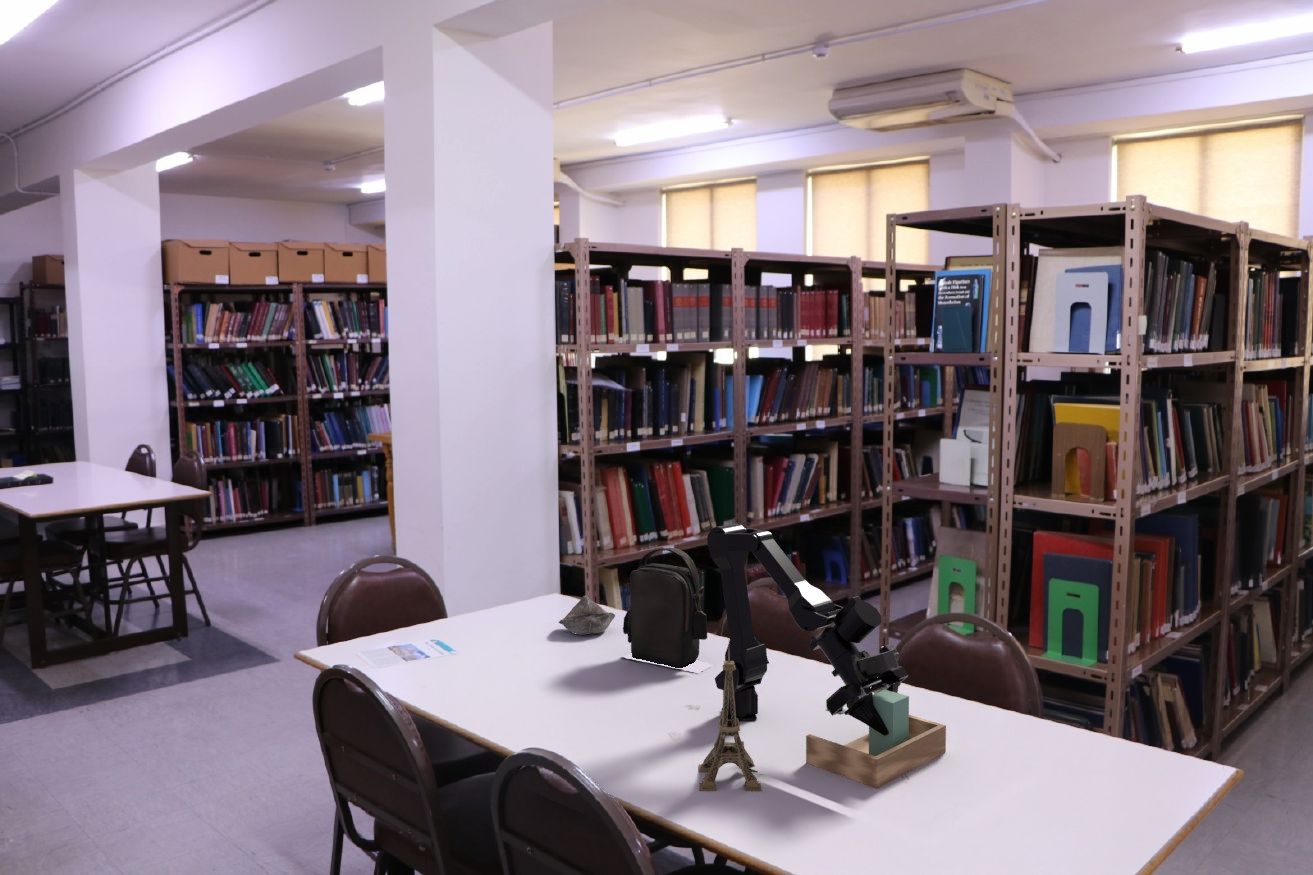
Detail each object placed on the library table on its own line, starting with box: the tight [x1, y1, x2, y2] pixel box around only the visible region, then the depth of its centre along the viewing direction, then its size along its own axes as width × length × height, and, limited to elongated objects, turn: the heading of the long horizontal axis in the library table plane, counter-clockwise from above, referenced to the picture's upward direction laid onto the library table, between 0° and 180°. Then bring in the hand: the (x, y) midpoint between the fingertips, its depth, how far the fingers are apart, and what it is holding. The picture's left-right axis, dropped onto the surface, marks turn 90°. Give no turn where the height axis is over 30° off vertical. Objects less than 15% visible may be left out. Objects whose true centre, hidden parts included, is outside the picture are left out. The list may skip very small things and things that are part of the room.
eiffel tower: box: [698, 651, 763, 792], centre depth 174 cm, size 11×11×25 cm
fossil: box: [558, 595, 616, 635], centre depth 269 cm, size 15×14×10 cm
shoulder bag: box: [622, 546, 708, 668], centre depth 242 cm, size 23×9×28 cm, turn 57°
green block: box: [868, 690, 910, 756], centre depth 179 cm, size 5×5×12 cm
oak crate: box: [805, 714, 947, 789], centre depth 181 cm, size 15×22×6 cm
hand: (895, 730), depth 178 cm, fingers closed on green block, 5 cm apart
